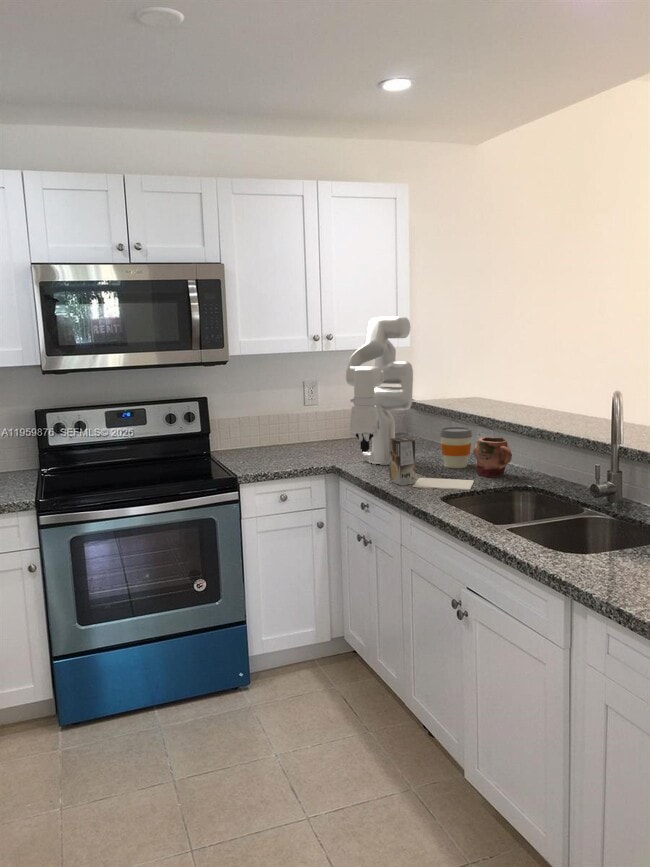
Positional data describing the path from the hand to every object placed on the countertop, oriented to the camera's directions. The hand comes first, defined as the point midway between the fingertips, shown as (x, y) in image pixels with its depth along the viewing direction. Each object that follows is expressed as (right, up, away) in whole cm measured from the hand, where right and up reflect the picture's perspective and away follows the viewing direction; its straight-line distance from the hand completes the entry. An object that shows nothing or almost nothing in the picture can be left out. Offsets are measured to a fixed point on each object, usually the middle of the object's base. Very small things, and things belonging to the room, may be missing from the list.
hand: (365, 451), depth 262 cm
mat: (+28, -12, -7) cm, 31 cm away
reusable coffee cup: (+38, -7, +25) cm, 46 cm away
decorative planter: (+49, -10, +6) cm, 50 cm away
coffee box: (+13, -12, -2) cm, 18 cm away
